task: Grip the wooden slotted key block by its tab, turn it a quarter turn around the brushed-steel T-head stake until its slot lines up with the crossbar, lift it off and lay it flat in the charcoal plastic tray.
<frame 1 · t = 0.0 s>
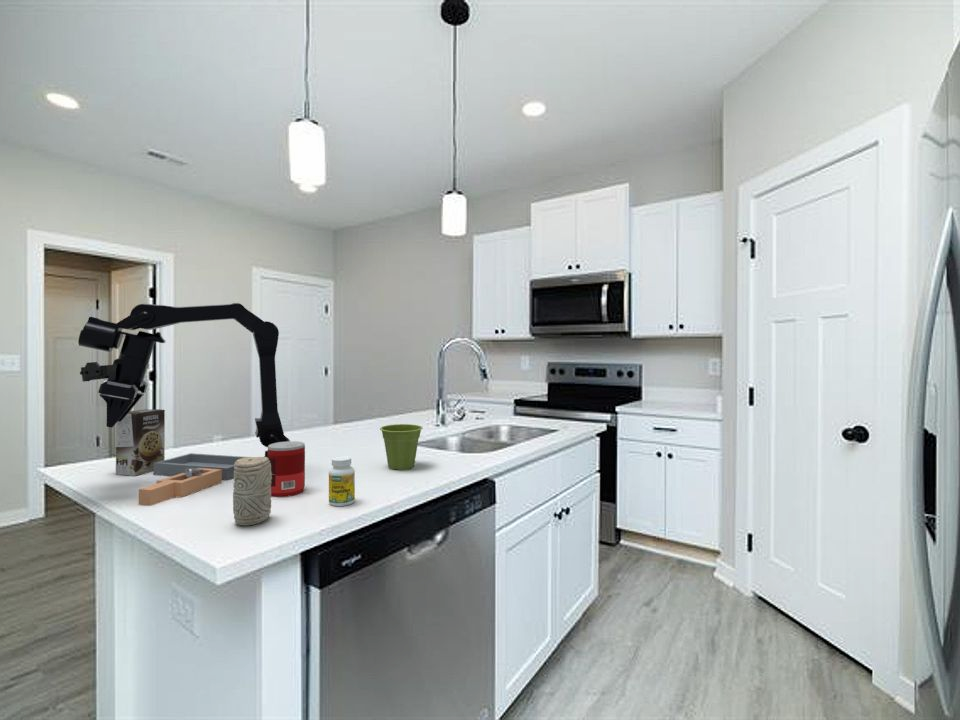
hand: (114, 424, 107), 15 cm above the worktop, tool pointing down, fingers open, 9 cm apart
stake: (190, 488, 110), on the worktop
supplement bottle: (341, 503, 101), on the worktop
wooden slotted key block: (190, 488, 110), on the worktop
plant pot: (401, 468, 132), on the worktop
carving: (252, 522, 90), on the worktop
tray: (207, 471, 125), on the worktop
cookie box: (141, 472, 125), on the worktop
canned food: (286, 492, 108), on the worktop
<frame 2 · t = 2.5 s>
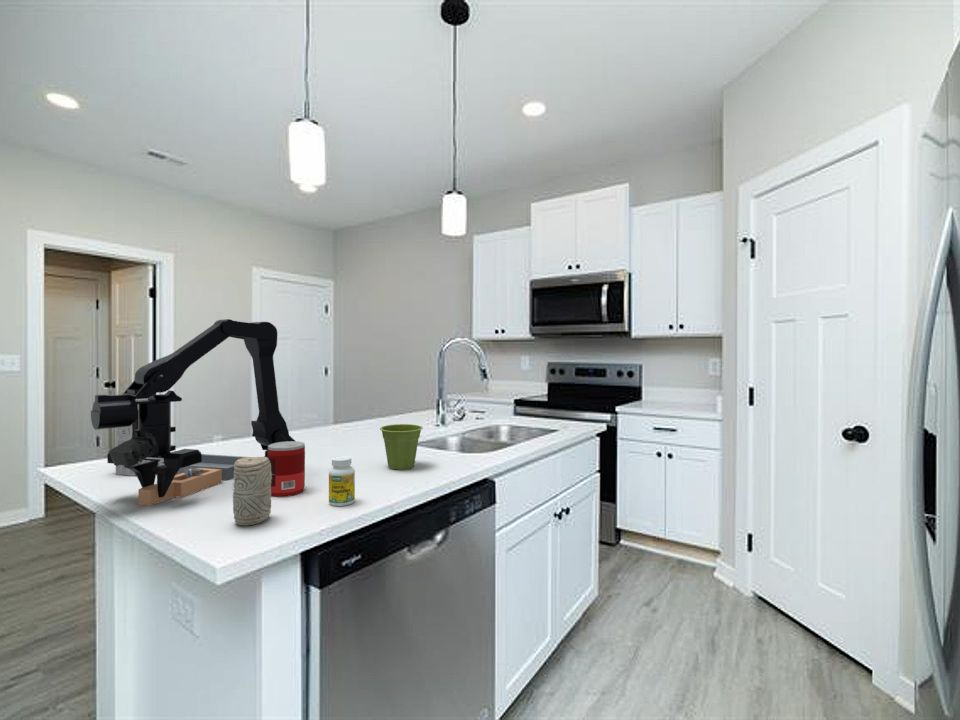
hand: (155, 496, 101), 1 cm above the worktop, tool pointing down, fingers closed on wooden slotted key block, 3 cm apart
wooden slotted key block: (190, 488, 110), on the worktop, touching gripper
everything else where it was.
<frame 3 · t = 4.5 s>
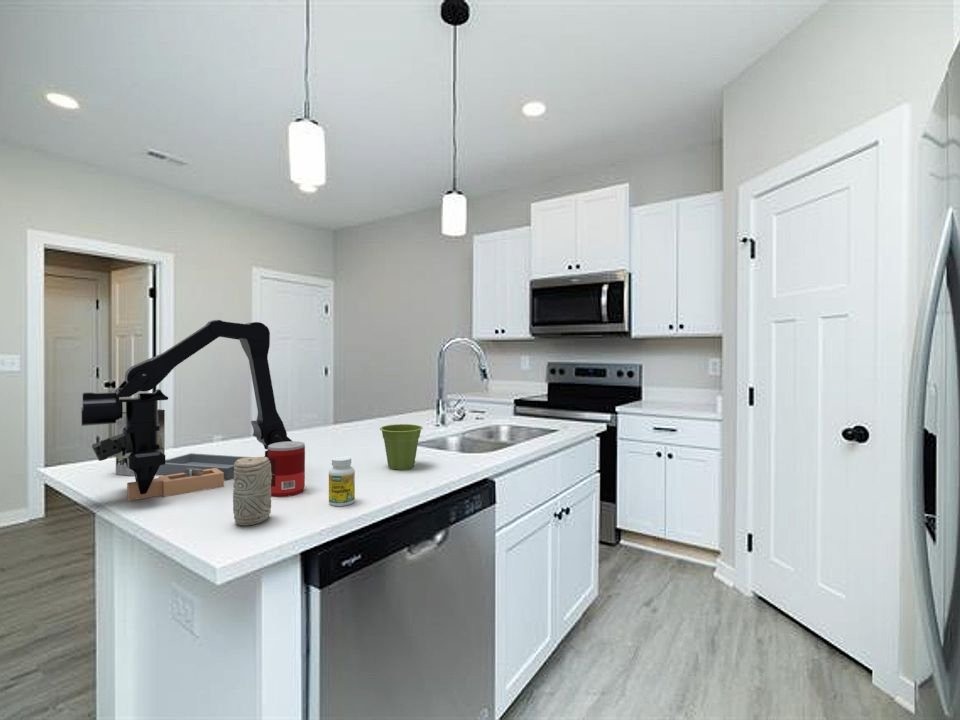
hand: (142, 492, 104), 1 cm above the worktop, tool pointing down, fingers closed on wooden slotted key block, 3 cm apart
wooden slotted key block: (191, 488, 110), on the worktop, touching gripper
everything else where it was.
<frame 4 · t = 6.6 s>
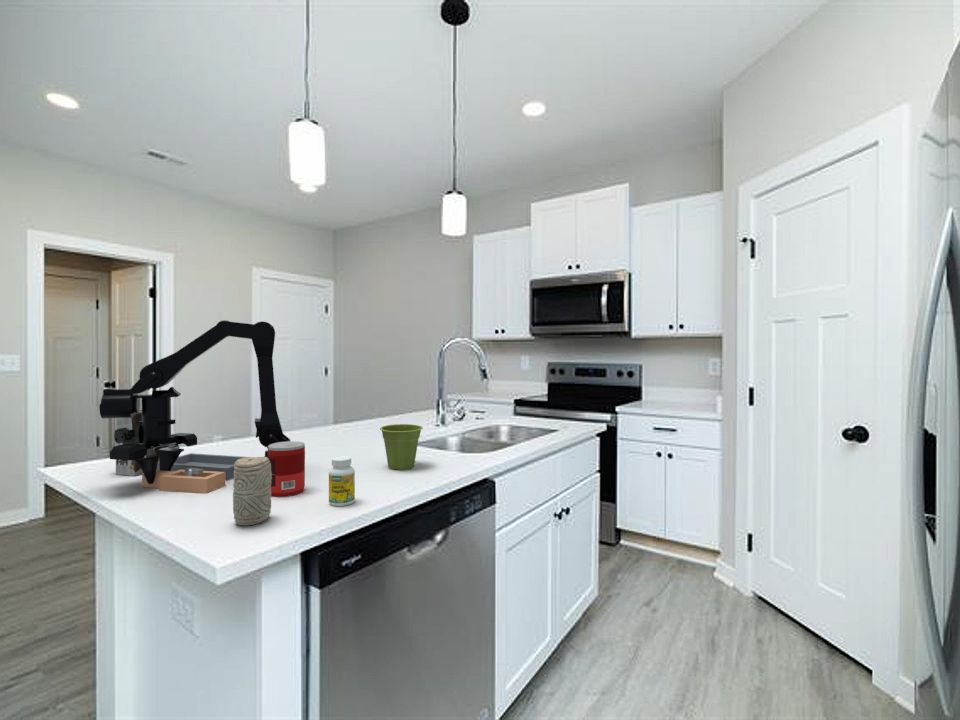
hand: (157, 481, 112), 1 cm above the worktop, tool pointing down, fingers closed on wooden slotted key block, 3 cm apart
wooden slotted key block: (192, 487, 111), on the worktop, touching gripper
everything else where it was.
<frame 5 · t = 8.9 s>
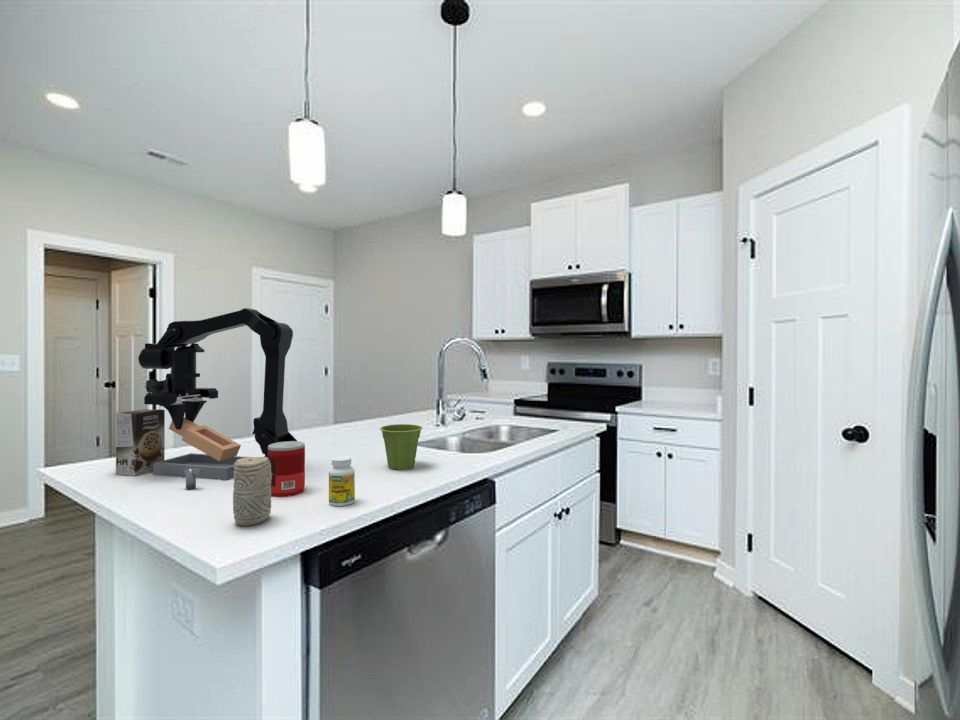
hand: (183, 428, 125), 12 cm above the worktop, tool pointing down, fingers closed on wooden slotted key block, 3 cm apart
wooden slotted key block: (209, 448, 123), point 7 cm above the worktop, tilted 24°, touching gripper
everything else where it was.
when the fingers open (3 cm above the worktop, at t = 10.9 s): wooden slotted key block stays where it is, resting on tray.
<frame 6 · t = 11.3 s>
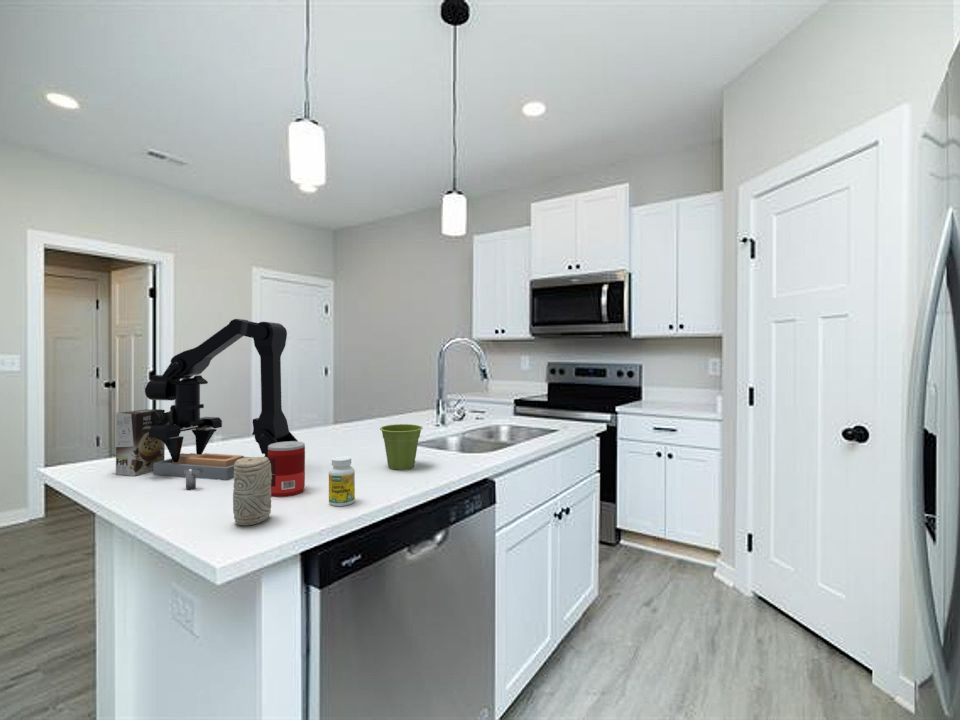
hand: (187, 458, 127), 3 cm above the worktop, tool pointing down, fingers open, 7 cm apart
wooden slotted key block: (215, 469, 125), point 1 cm above the worktop, touching tray
everything else where it was.
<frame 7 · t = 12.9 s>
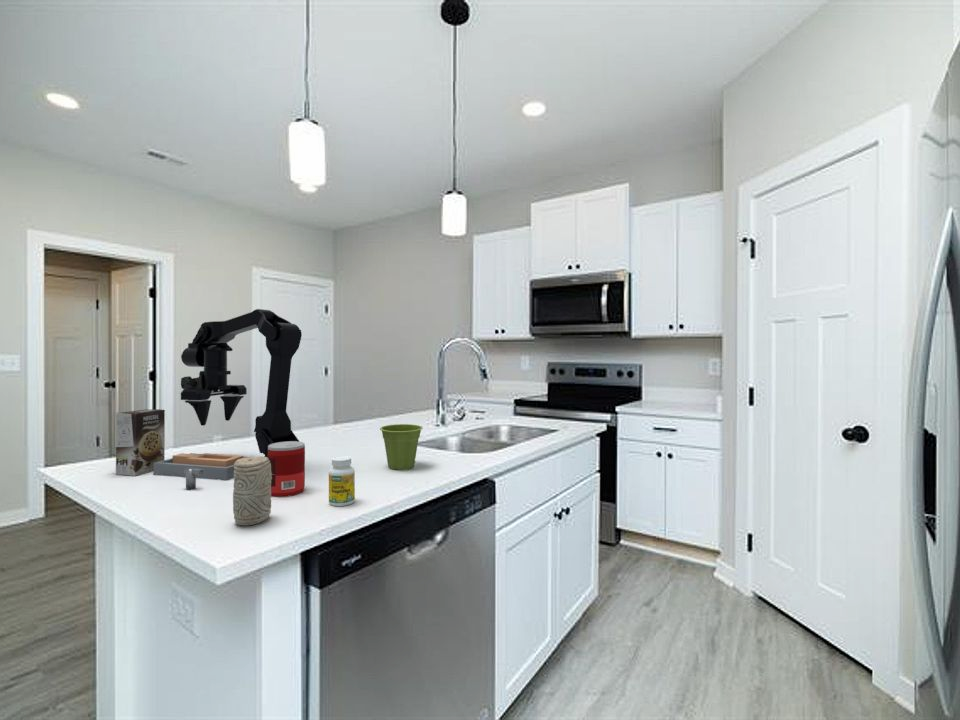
hand: (215, 422, 132), 12 cm above the worktop, tool pointing down, fingers open, 9 cm apart
nothing on the worktop moved.
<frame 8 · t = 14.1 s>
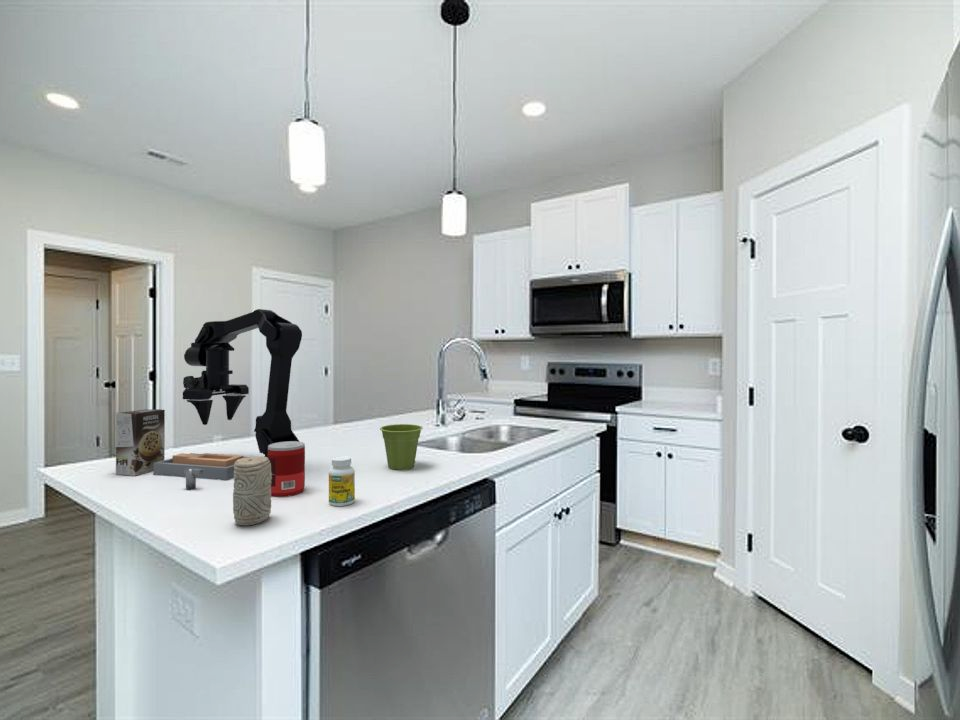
hand: (217, 422, 133), 12 cm above the worktop, tool pointing down, fingers open, 9 cm apart
nothing on the worktop moved.
at the end: wooden slotted key block inside the target area on the tray (0.4 cm from its centre), point 0.8 cm above the tray's base; wooden slotted key block tilted 0°; the gripper is holding nothing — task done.
